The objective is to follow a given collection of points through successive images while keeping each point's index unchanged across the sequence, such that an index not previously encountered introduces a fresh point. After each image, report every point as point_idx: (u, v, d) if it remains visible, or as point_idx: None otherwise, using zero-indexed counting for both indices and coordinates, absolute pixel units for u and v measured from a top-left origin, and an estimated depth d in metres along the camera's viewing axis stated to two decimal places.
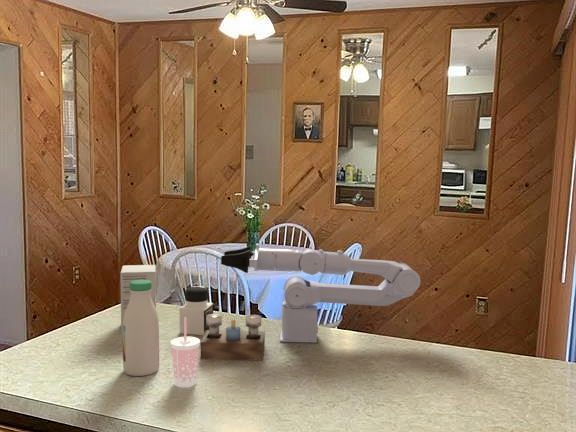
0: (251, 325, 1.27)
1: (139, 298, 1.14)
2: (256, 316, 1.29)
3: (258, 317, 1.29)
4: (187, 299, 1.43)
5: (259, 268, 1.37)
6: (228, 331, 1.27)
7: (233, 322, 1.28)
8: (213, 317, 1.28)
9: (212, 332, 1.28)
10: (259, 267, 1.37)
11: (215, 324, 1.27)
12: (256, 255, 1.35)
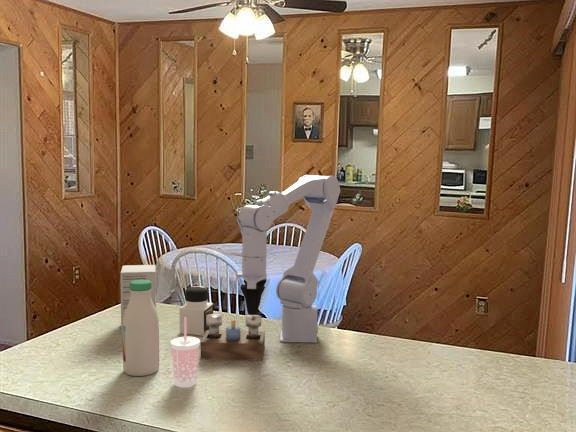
0: (251, 325, 1.27)
1: (139, 298, 1.14)
2: (256, 316, 1.29)
3: (258, 317, 1.29)
4: (187, 299, 1.43)
5: (262, 273, 1.26)
6: (228, 331, 1.27)
7: (233, 322, 1.28)
8: (213, 317, 1.28)
9: (212, 332, 1.28)
10: (260, 273, 1.25)
11: (215, 324, 1.27)
12: (245, 278, 1.24)
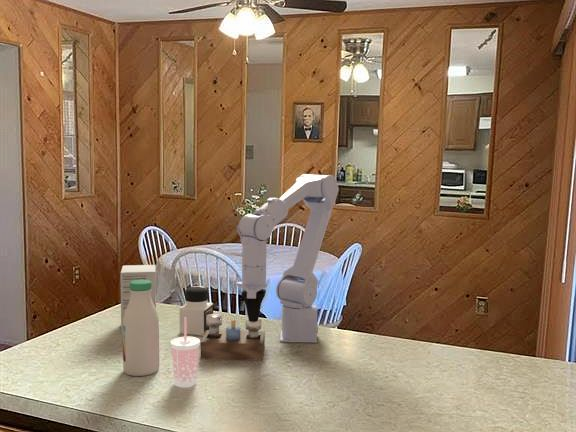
0: (251, 328, 1.27)
1: (139, 298, 1.14)
2: None
3: (258, 320, 1.29)
4: (187, 299, 1.43)
5: (262, 283, 1.26)
6: (228, 331, 1.27)
7: (233, 322, 1.28)
8: (213, 317, 1.28)
9: (212, 332, 1.28)
10: (260, 283, 1.26)
11: (215, 324, 1.27)
12: (245, 288, 1.24)
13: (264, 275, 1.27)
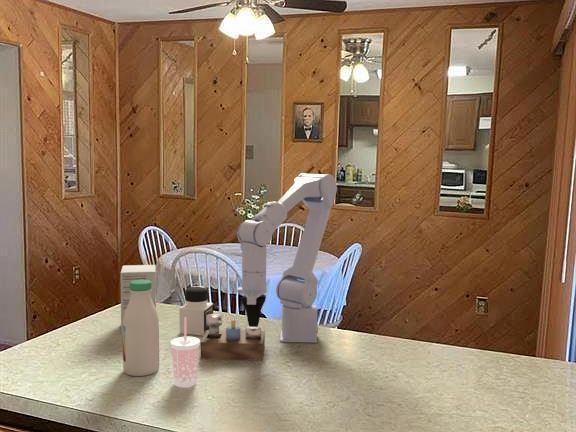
0: (251, 337, 1.27)
1: (139, 298, 1.14)
2: (256, 328, 1.30)
3: (258, 329, 1.29)
4: (187, 299, 1.43)
5: (262, 288, 1.26)
6: (228, 331, 1.27)
7: (233, 322, 1.28)
8: (213, 317, 1.28)
9: (212, 332, 1.28)
10: (260, 289, 1.26)
11: (215, 324, 1.27)
12: (245, 293, 1.24)
13: (264, 281, 1.27)
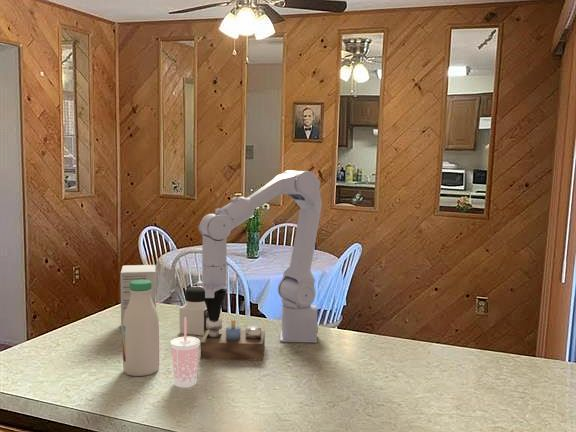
0: (251, 337, 1.27)
1: (139, 298, 1.14)
2: (256, 328, 1.30)
3: (258, 329, 1.29)
4: (187, 299, 1.43)
5: (222, 282, 1.26)
6: (228, 331, 1.27)
7: (233, 322, 1.28)
8: (213, 321, 1.28)
9: (212, 335, 1.28)
10: (220, 282, 1.26)
11: (215, 328, 1.27)
12: (204, 287, 1.24)
13: (224, 275, 1.27)
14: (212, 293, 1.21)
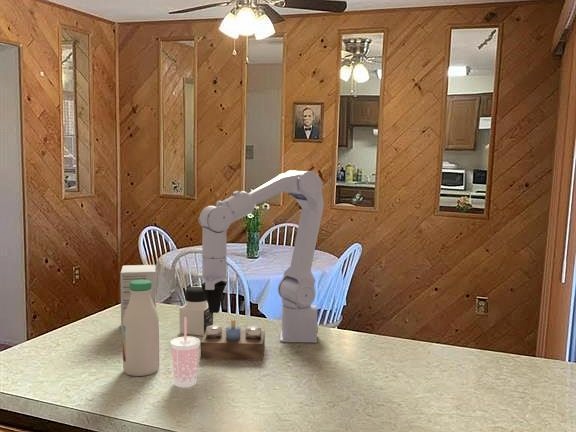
0: (251, 337, 1.27)
1: (139, 298, 1.14)
2: (256, 328, 1.30)
3: (258, 329, 1.29)
4: (187, 299, 1.43)
5: (222, 274, 1.26)
6: (228, 331, 1.27)
7: (233, 322, 1.28)
8: (213, 329, 1.28)
9: None
10: (220, 274, 1.26)
11: (215, 336, 1.28)
12: (204, 279, 1.24)
13: (224, 267, 1.26)
14: (212, 285, 1.21)
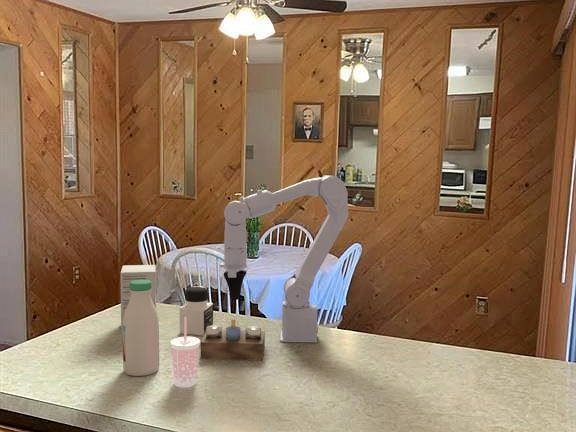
0: (251, 337, 1.27)
1: (139, 298, 1.14)
2: (256, 328, 1.30)
3: (258, 329, 1.29)
4: (187, 299, 1.43)
5: (242, 264, 1.37)
6: (228, 331, 1.27)
7: (233, 322, 1.28)
8: (213, 329, 1.28)
9: None
10: (241, 264, 1.36)
11: (215, 336, 1.28)
12: (226, 268, 1.35)
13: (244, 257, 1.37)
14: (234, 273, 1.32)
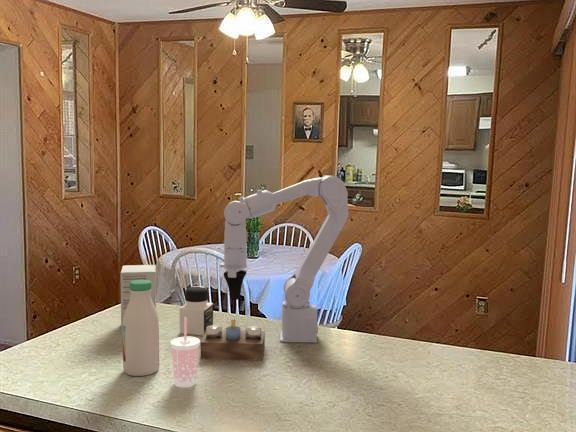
0: (251, 337, 1.27)
1: (139, 298, 1.14)
2: (256, 328, 1.30)
3: (258, 329, 1.29)
4: (187, 299, 1.43)
5: (242, 264, 1.37)
6: (228, 331, 1.27)
7: (233, 322, 1.28)
8: (213, 329, 1.28)
9: None
10: (241, 264, 1.36)
11: (215, 336, 1.28)
12: (226, 268, 1.35)
13: (244, 257, 1.37)
14: (234, 273, 1.32)
